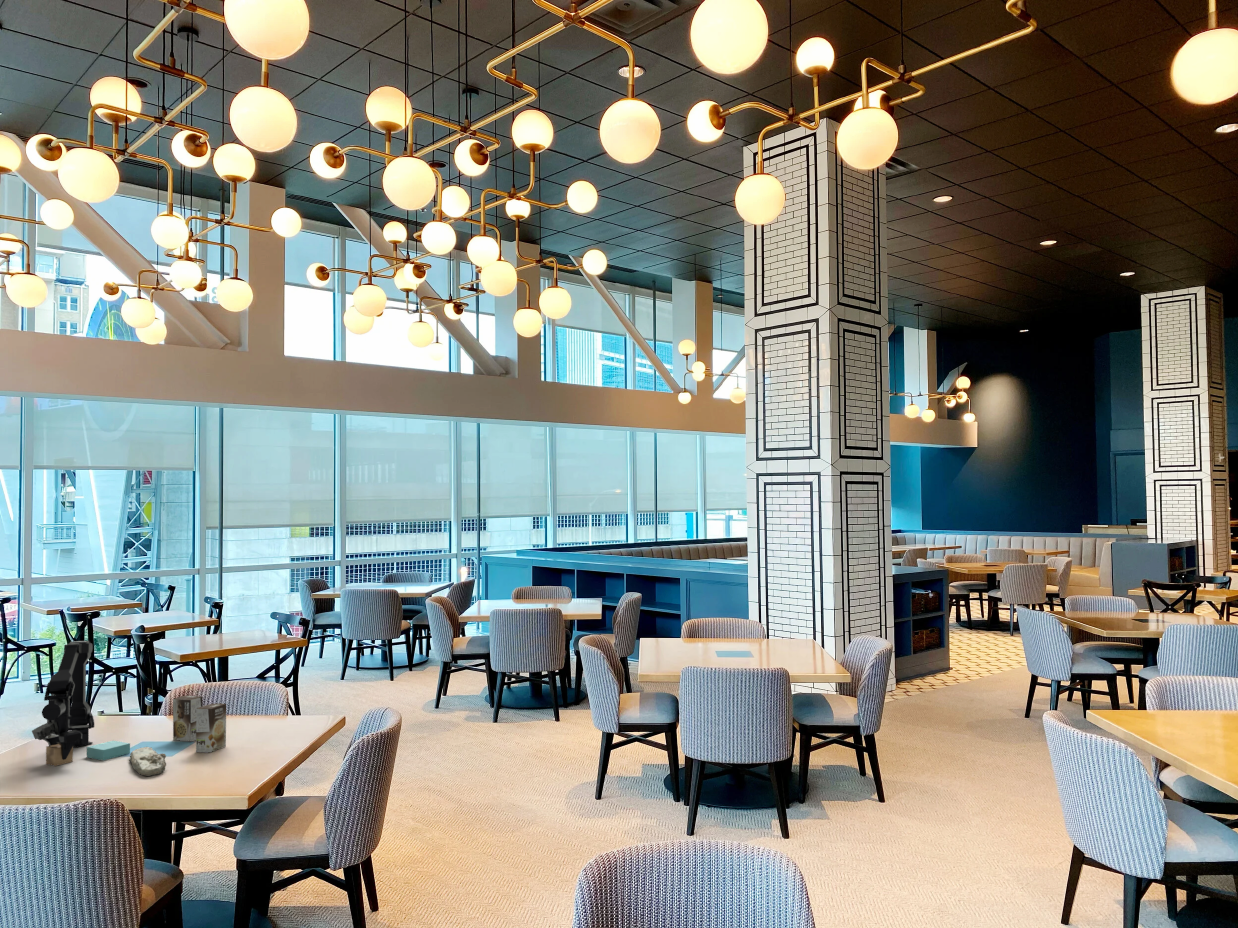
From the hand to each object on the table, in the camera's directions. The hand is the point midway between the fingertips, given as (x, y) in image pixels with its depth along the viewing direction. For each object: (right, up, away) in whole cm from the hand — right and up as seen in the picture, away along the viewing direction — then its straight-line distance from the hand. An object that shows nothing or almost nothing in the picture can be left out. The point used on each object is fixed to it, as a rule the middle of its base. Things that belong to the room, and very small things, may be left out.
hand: (59, 758), depth 317 cm
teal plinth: (+12, -2, +9) cm, 15 cm away
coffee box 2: (+47, -2, +15) cm, 50 cm away
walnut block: (0, -2, 0) cm, 2 cm away
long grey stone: (+34, -1, -5) cm, 34 cm away
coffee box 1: (+31, -3, +30) cm, 43 cm away
